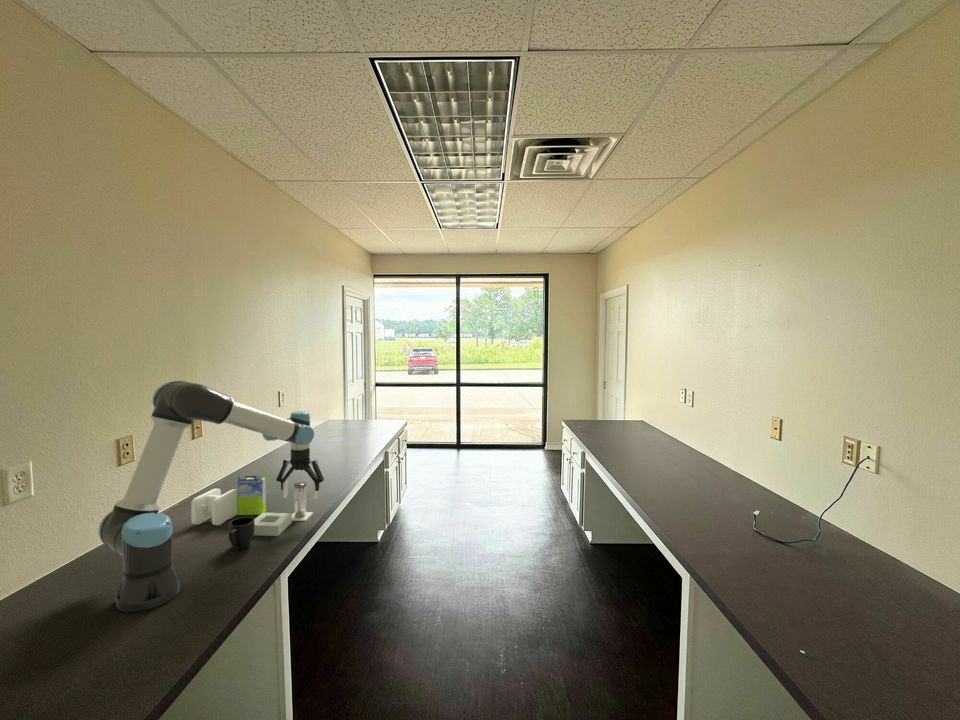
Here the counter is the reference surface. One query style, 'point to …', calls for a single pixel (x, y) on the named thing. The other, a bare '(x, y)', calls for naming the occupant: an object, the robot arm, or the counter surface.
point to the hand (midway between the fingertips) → (300, 497)
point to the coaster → (302, 517)
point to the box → (251, 495)
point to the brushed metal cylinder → (300, 499)
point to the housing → (272, 523)
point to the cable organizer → (214, 506)
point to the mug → (241, 532)
